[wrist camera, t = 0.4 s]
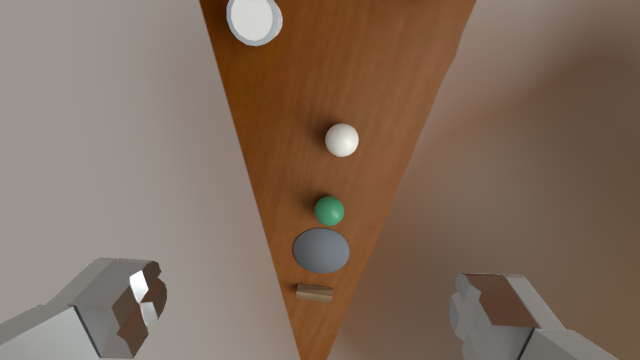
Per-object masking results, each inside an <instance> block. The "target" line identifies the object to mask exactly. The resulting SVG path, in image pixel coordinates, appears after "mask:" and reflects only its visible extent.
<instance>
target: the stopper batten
mask: <svg viewBox="0 0 640 360" xmlns="http://www.w3.org/2000/svg"><path fill="white" fill-rule="evenodd" d="M332 295H333V288H329V287H322V286H315V285H308V284H301V283H298V286H297V292H296V298H299V299H306V300H313V301H321V302H328V303H331V301H332Z"/></svg>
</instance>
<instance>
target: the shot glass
mask: <svg viewBox="0 0 640 360" xmlns="http://www.w3.org/2000/svg"><path fill="white" fill-rule="evenodd" d="M282 20H283V18H282V15H281V11H280V9H279V8H278V6H277V5H276V3H275V2H274V1H273V0H229V3H228V5H227V21H228V24H229V27H230V30H231V31H232V33H233V34H234V35H235V36H236V38H237V39H238V40H240V41H241V42H243V43H245V44H246V45H252V46H259V45H262V44H266V43H267V42H269V41H270V40H272V39H273V38H274V37H275V36H277V35H278V34H279V32H280V30H281V28H282Z"/></svg>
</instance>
